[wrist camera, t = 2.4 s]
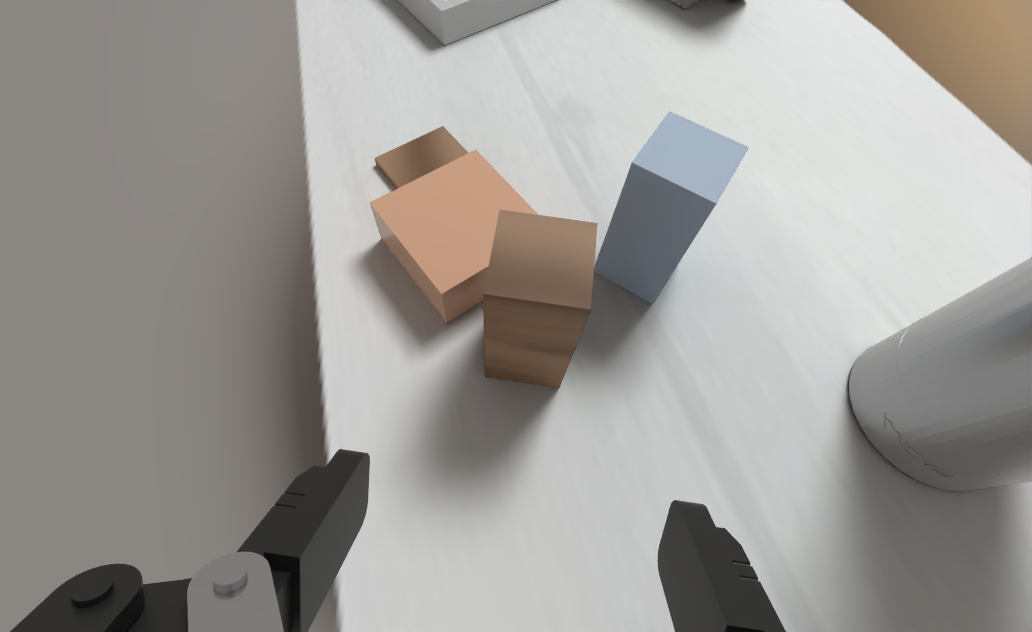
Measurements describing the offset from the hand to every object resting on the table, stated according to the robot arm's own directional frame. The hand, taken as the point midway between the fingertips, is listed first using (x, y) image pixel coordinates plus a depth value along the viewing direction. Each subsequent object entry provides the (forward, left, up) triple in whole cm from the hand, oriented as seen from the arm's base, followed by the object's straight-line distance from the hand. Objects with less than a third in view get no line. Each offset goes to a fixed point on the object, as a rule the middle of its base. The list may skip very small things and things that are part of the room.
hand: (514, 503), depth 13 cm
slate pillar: (-17, -8, -14) cm, 24 cm away
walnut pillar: (-7, -7, -14) cm, 17 cm away
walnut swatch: (-10, -23, -14) cm, 29 cm away
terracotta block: (-8, -16, -14) cm, 23 cm away
